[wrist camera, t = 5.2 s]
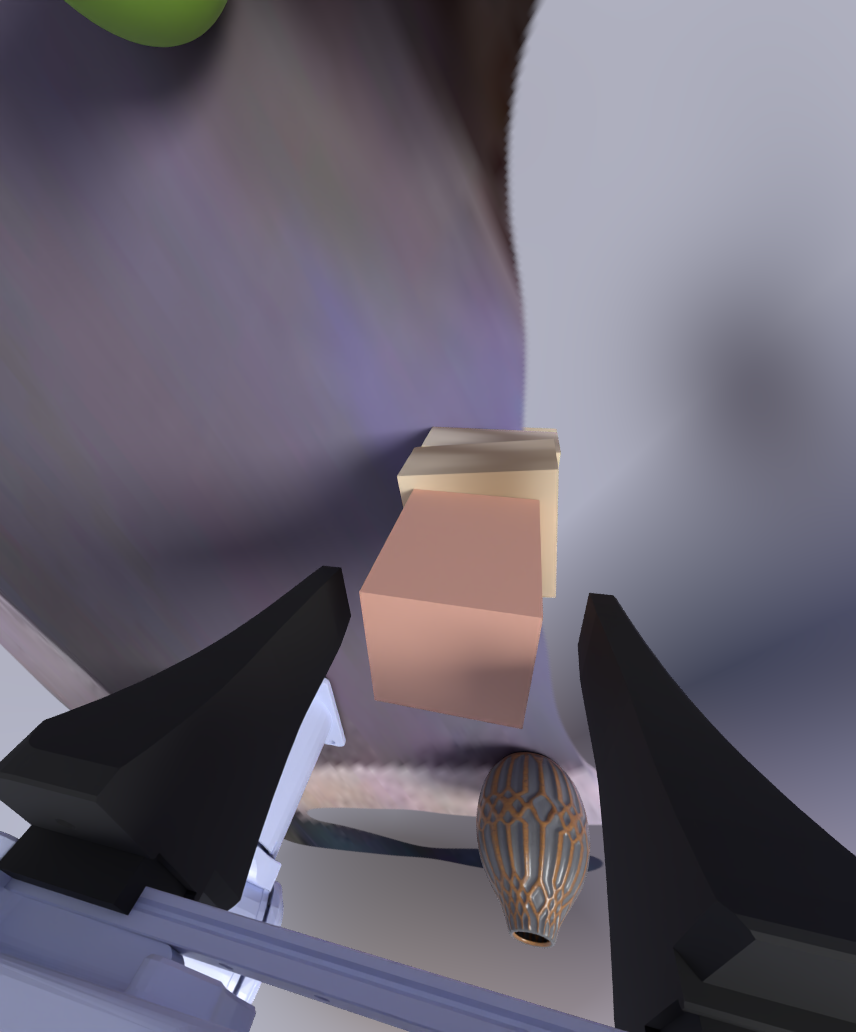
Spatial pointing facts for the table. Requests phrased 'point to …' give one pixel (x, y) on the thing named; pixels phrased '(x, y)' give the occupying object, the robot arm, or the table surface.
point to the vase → (533, 844)
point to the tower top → (494, 482)
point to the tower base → (488, 436)
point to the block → (457, 606)
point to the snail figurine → (152, 18)
